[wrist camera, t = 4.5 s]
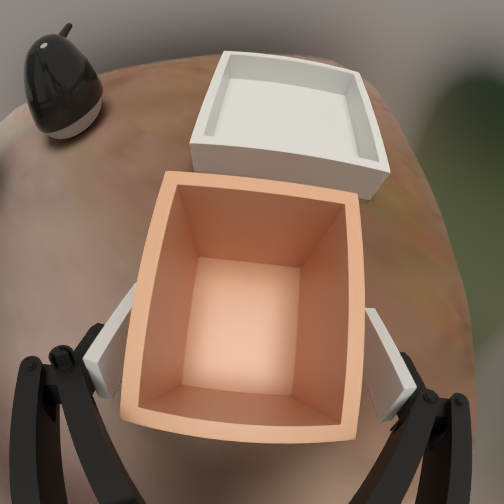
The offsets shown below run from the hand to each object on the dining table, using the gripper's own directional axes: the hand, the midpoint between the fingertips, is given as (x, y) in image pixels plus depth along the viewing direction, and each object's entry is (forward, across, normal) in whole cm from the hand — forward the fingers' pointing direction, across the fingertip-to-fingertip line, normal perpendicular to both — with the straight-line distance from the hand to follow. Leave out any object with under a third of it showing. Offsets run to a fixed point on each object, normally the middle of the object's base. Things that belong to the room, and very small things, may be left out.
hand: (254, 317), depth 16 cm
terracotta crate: (+4, 0, -4) cm, 6 cm away
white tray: (+20, +2, +12) cm, 24 cm away
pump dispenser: (+20, -26, +12) cm, 35 cm away
